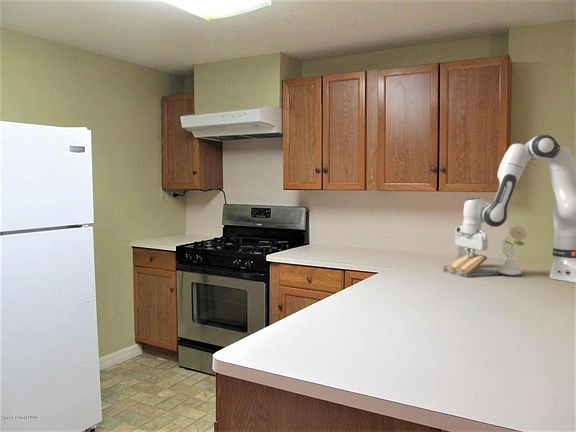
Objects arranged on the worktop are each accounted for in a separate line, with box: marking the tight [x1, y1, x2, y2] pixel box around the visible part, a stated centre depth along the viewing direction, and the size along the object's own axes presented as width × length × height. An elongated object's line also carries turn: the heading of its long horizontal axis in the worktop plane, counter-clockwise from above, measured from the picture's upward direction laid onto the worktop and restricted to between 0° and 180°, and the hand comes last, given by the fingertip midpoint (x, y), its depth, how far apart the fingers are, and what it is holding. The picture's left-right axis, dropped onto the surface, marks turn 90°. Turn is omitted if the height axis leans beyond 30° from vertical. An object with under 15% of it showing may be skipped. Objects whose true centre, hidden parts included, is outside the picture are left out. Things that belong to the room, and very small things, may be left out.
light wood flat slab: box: [449, 252, 488, 273], centre depth 239 cm, size 15×12×2 cm
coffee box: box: [457, 246, 471, 259], centre depth 260 cm, size 9×6×16 cm
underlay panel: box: [443, 265, 499, 278], centre depth 240 cm, size 17×19×3 cm
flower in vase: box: [496, 225, 528, 276], centre depth 236 cm, size 13×11×25 cm
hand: (470, 256), depth 240 cm, fingers closed, pressing on light wood flat slab
